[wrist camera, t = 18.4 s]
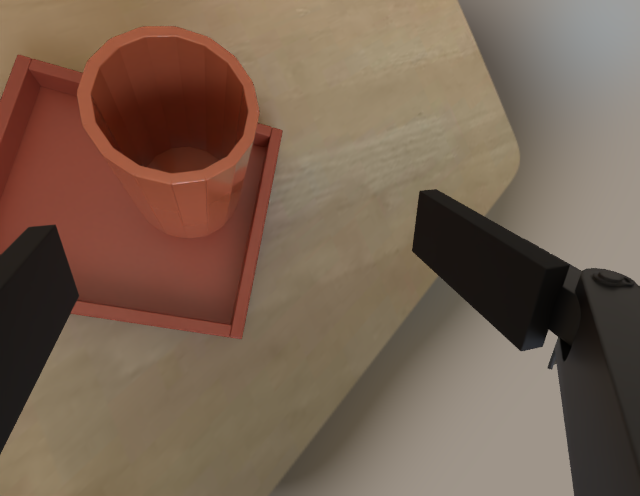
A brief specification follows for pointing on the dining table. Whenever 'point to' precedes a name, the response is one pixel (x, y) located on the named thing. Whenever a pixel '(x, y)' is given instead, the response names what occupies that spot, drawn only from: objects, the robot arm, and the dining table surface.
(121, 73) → the terracotta tumbler
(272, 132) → the red tray
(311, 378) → the dining table surface
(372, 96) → the dining table surface
